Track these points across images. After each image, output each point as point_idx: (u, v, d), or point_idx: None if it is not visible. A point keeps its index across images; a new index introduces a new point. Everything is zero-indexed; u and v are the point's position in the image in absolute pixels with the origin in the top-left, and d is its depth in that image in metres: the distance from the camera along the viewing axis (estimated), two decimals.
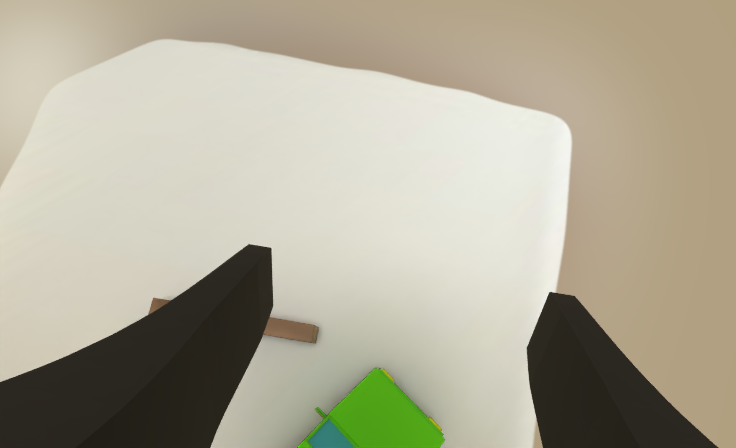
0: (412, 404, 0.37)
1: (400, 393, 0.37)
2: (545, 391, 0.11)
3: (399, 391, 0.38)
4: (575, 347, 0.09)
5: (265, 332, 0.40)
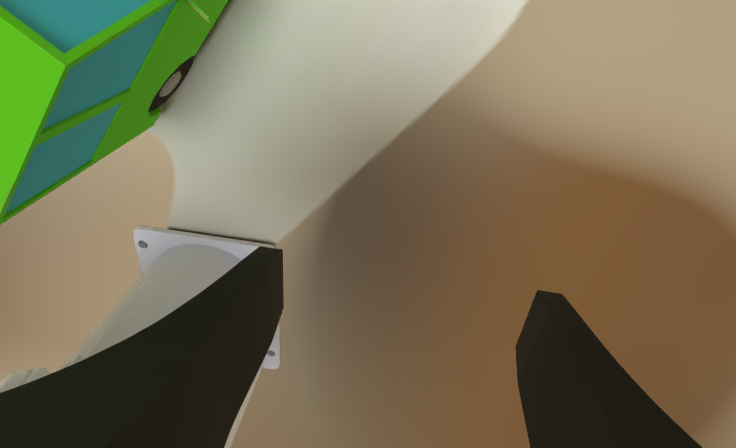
0: None
1: None
2: (532, 389, 0.11)
3: None
4: (561, 344, 0.09)
5: None
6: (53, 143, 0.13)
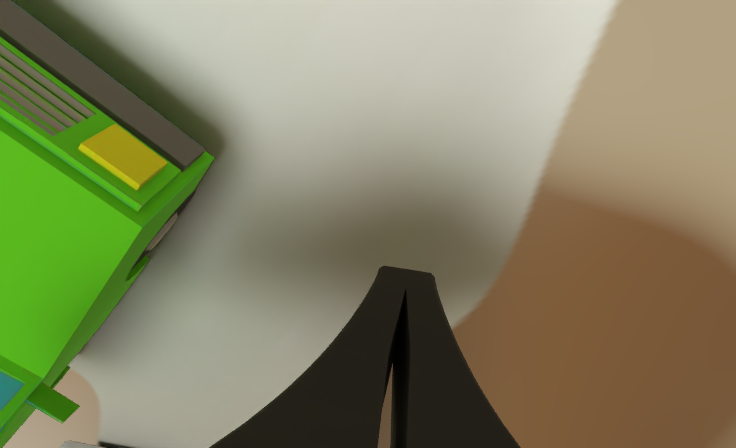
0: None
1: None
2: (396, 365, 0.11)
3: None
4: (406, 318, 0.10)
5: None
6: None
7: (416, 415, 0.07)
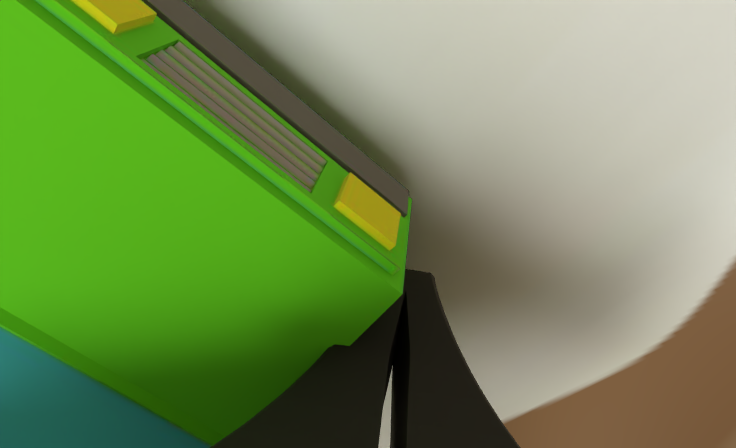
0: (235, 150, 0.07)
1: (156, 100, 0.07)
2: (395, 365, 0.11)
3: (149, 89, 0.07)
4: (406, 318, 0.10)
5: None
6: None
7: (416, 415, 0.07)
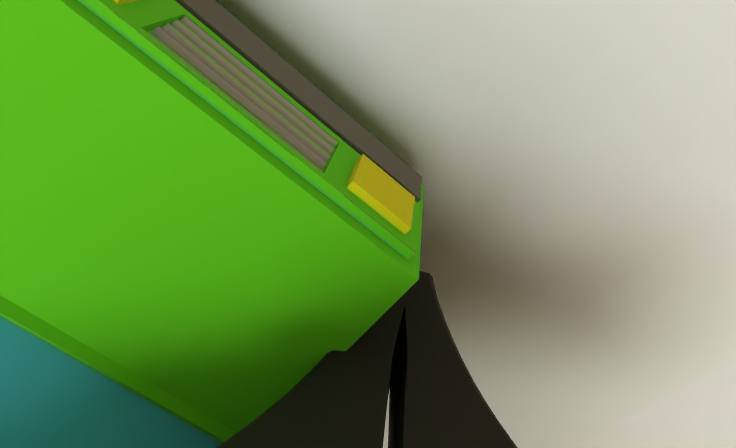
0: (244, 126, 0.07)
1: (162, 73, 0.06)
2: (393, 365, 0.11)
3: (155, 61, 0.06)
4: (404, 318, 0.10)
5: None
6: None
7: (412, 414, 0.07)
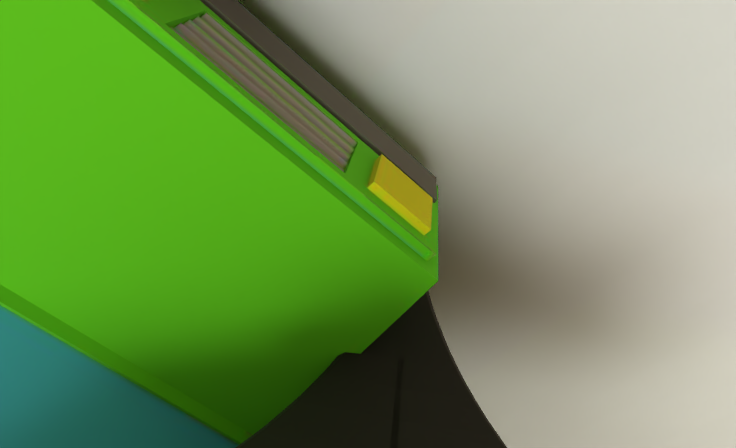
0: (267, 125, 0.07)
1: (186, 70, 0.06)
2: None
3: (179, 58, 0.06)
4: None
5: None
6: None
7: (401, 412, 0.07)
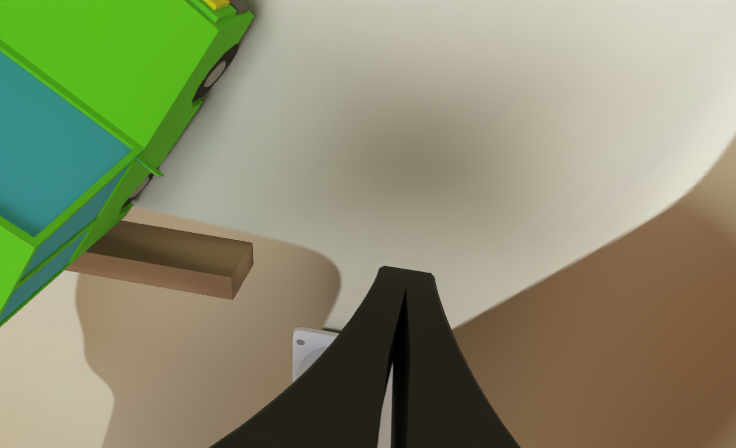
0: None
1: None
2: (396, 365, 0.11)
3: None
4: (406, 318, 0.10)
5: None
6: (30, 278, 0.16)
7: (416, 415, 0.07)
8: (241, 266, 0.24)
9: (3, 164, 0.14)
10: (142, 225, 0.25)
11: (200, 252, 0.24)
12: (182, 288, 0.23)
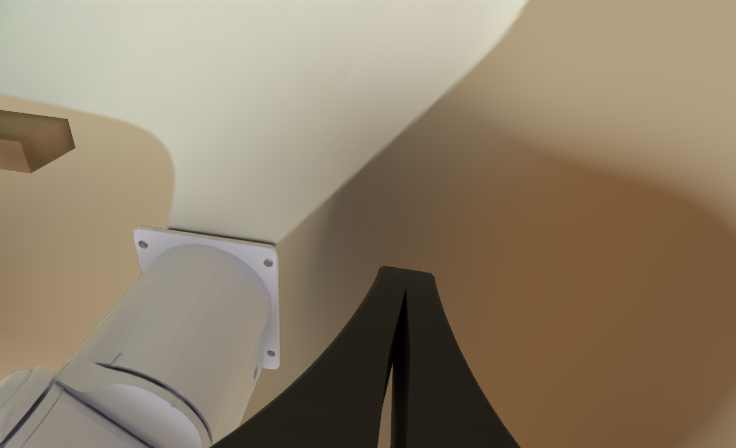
0: None
1: None
2: (396, 365, 0.11)
3: None
4: (406, 318, 0.10)
5: None
6: None
7: (416, 415, 0.07)
8: (44, 138, 0.21)
9: None
10: None
11: None
12: None
